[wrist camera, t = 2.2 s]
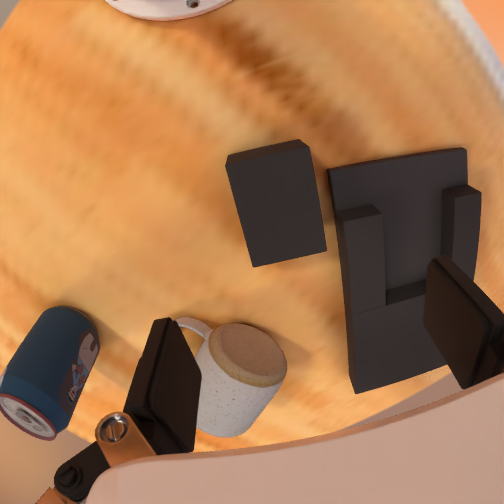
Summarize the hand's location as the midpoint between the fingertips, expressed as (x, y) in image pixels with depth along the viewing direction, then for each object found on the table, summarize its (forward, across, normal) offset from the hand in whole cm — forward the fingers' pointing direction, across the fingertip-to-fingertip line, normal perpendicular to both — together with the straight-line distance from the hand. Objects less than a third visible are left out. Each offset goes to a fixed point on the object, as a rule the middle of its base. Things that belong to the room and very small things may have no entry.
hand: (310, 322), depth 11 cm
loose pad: (+13, 0, -1) cm, 13 cm away
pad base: (+13, -10, +9) cm, 19 cm away
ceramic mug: (+14, +8, +12) cm, 20 cm away
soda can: (+14, +22, +7) cm, 27 cm away
